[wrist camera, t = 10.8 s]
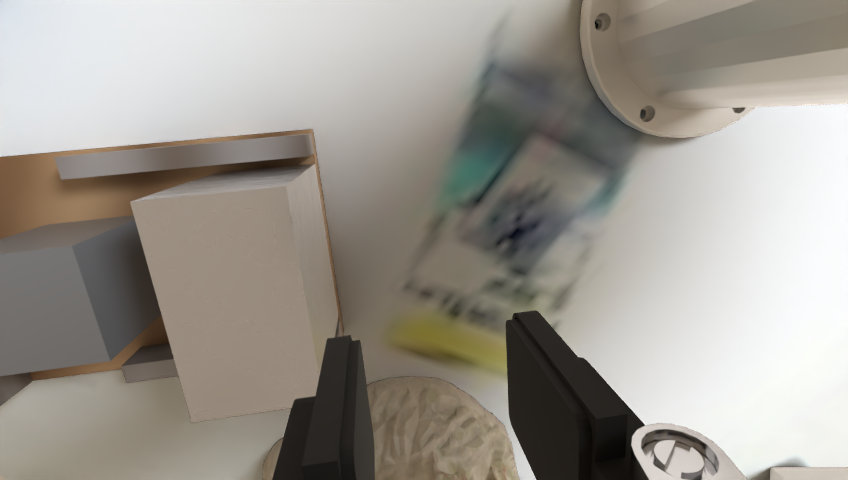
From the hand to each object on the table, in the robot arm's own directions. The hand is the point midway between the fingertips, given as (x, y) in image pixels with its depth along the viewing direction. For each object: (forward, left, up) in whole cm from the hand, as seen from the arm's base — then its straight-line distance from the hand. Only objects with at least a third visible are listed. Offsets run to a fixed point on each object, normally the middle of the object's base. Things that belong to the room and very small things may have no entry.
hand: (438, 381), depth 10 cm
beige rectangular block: (+6, 0, -14) cm, 15 cm away
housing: (+15, 0, -14) cm, 21 cm away
